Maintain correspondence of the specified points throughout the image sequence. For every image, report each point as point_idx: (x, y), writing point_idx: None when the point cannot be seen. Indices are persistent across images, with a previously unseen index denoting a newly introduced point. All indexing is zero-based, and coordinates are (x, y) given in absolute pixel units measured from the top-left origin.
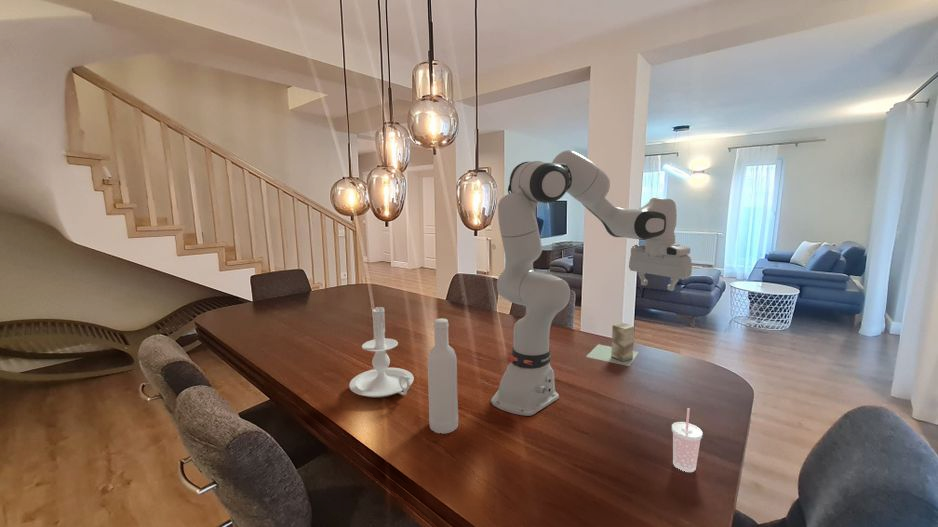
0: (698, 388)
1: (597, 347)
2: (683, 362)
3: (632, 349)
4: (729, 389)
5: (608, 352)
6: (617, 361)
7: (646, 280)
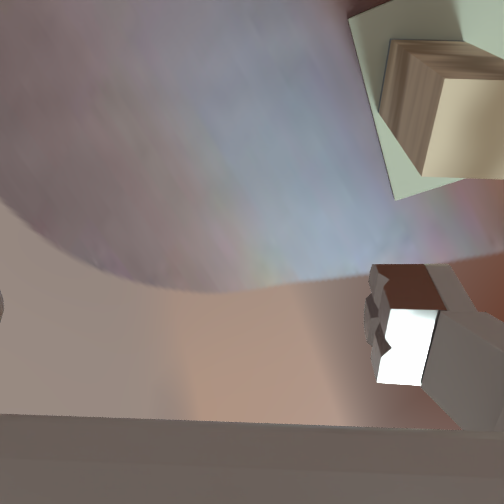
0: (60, 68)
1: None
2: (232, 244)
3: (389, 121)
4: (12, 153)
5: None
6: (416, 21)
7: (384, 351)
